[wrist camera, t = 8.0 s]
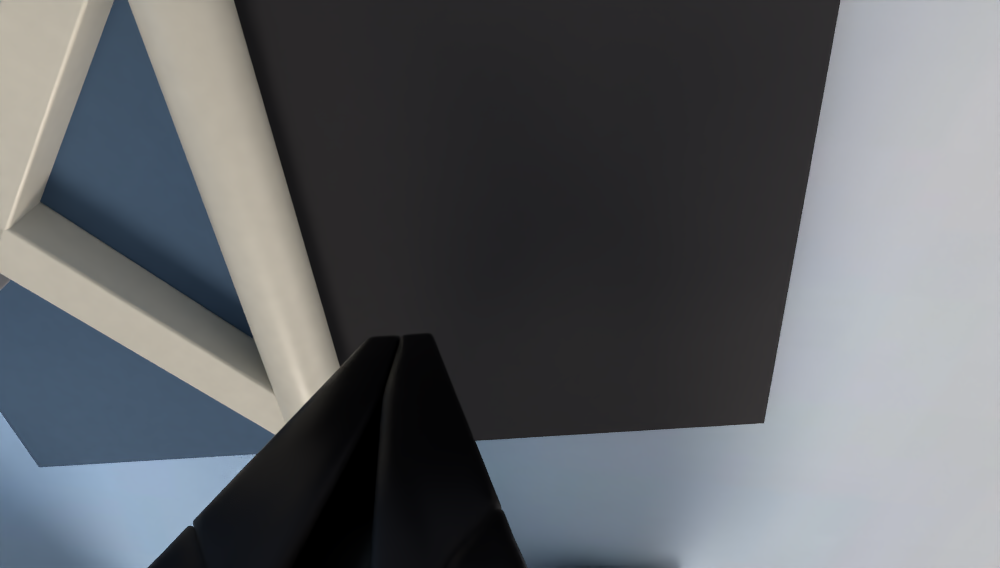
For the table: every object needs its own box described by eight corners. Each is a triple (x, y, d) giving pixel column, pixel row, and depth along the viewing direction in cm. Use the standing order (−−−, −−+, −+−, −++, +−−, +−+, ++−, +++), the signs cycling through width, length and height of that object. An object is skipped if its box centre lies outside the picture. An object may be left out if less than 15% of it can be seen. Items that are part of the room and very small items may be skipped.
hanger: (363, 414, 18) (352, 462, 17) (41, 434, 19) (6, 482, 17) (184, -228, 10) (138, -233, 9) (-359, -168, 11) (-477, -163, 10)
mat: (761, 418, 19) (763, 423, 18) (42, 462, 20) (38, 467, 19) (908, -414, 9) (916, -419, 9) (-448, -250, 10) (-463, -251, 10)
